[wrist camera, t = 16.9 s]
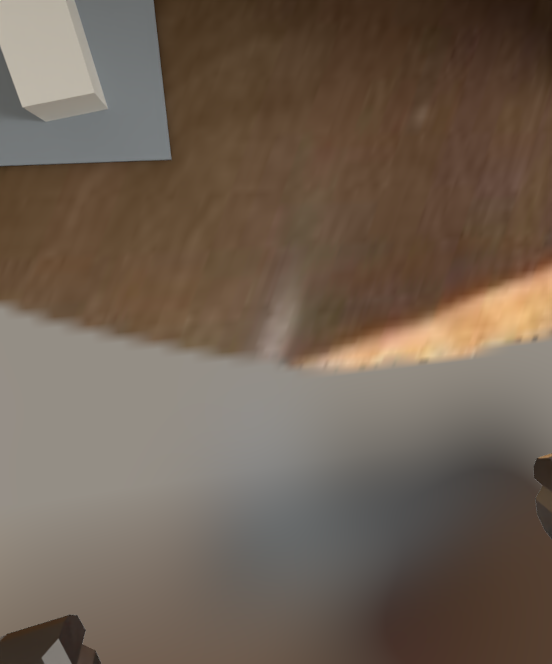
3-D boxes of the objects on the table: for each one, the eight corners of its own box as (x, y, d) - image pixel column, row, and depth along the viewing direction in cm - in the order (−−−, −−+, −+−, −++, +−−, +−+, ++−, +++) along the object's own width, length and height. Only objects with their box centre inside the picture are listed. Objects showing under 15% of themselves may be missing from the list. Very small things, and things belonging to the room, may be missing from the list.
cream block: (108, 109, 32) (68, -19, 30) (94, 92, 28) (47, -58, 25) (45, 121, 31) (0, -7, 29) (22, 107, 27) (-33, -45, 25)
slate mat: (147, -57, 30) (146, -60, 30) (171, 159, 34) (171, 159, 34) (-78, -66, 28) (-81, -69, 28) (-26, 167, 32) (-28, 166, 31)
